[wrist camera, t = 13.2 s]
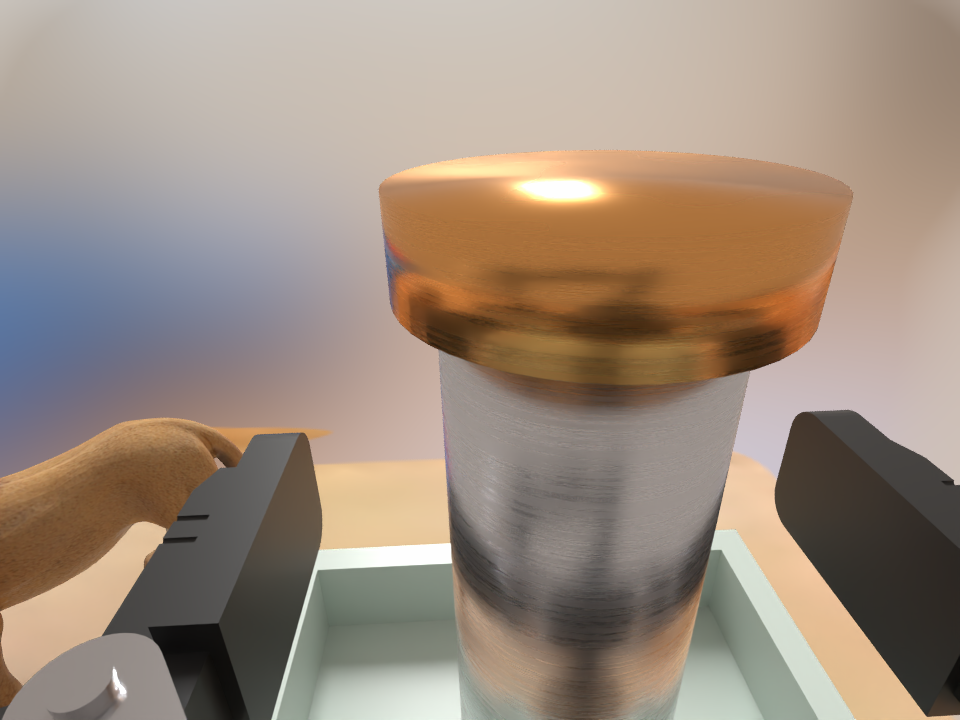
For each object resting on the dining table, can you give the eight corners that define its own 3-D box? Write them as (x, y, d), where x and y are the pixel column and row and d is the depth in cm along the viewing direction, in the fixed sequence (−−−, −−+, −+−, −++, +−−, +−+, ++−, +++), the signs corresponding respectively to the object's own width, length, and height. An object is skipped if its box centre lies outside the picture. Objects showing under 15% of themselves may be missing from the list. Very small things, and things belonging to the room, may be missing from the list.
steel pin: (445, 1012, 10) (341, 243, 4) (447, 745, 14) (398, 155, 8) (695, 994, 10) (1000, 222, 4) (627, 733, 15) (721, 146, 8)
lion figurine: (-222, 963, 12) (-607, 679, 8) (-255, 794, 14) (-548, 522, 10) (332, 535, 22) (293, 322, 18) (251, 486, 25) (202, 292, 21)
